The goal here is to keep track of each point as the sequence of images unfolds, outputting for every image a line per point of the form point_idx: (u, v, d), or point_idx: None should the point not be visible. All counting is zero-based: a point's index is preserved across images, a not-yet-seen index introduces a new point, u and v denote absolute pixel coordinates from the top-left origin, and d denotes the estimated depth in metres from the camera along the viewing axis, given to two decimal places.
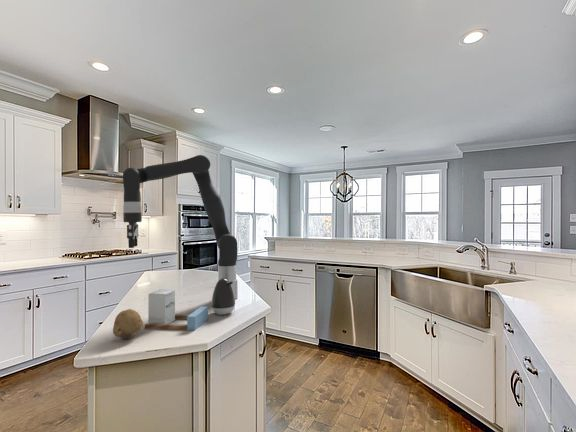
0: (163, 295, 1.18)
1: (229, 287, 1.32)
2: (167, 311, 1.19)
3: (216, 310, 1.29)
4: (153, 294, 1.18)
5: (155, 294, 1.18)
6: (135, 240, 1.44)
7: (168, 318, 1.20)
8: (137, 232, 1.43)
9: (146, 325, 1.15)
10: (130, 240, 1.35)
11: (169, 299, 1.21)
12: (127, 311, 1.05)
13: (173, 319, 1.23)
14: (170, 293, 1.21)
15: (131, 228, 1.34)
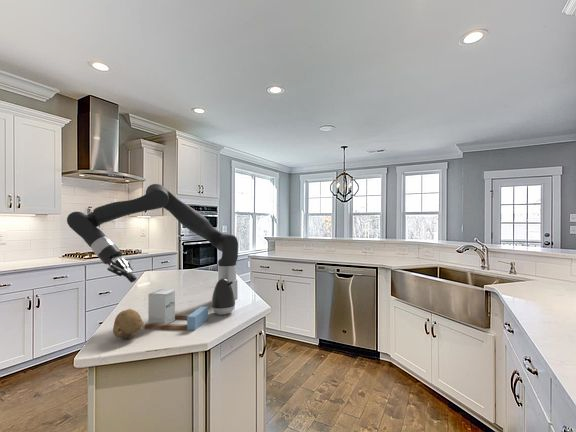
0: (163, 295, 1.18)
1: (229, 287, 1.32)
2: (167, 311, 1.19)
3: (216, 310, 1.29)
4: (153, 294, 1.18)
5: (155, 294, 1.18)
6: None
7: (168, 318, 1.20)
8: None
9: (146, 325, 1.15)
10: None
11: (169, 299, 1.21)
12: (127, 311, 1.05)
13: (173, 319, 1.23)
14: (170, 293, 1.21)
15: None
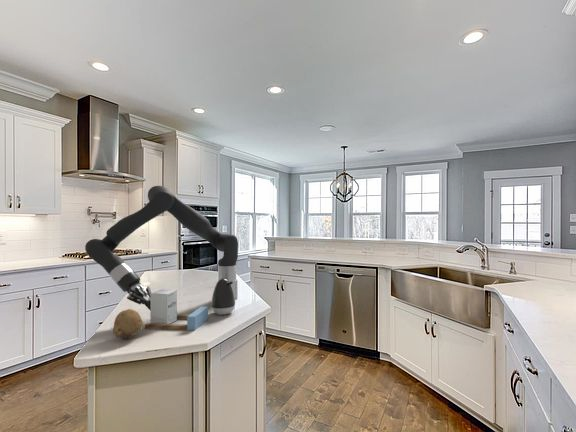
0: (165, 295, 1.18)
1: (229, 287, 1.32)
2: (169, 311, 1.19)
3: (216, 310, 1.29)
4: (155, 294, 1.18)
5: (157, 294, 1.18)
6: None
7: (170, 317, 1.20)
8: None
9: (146, 325, 1.15)
10: None
11: (171, 299, 1.20)
12: (127, 311, 1.05)
13: (175, 319, 1.23)
14: (172, 293, 1.21)
15: None
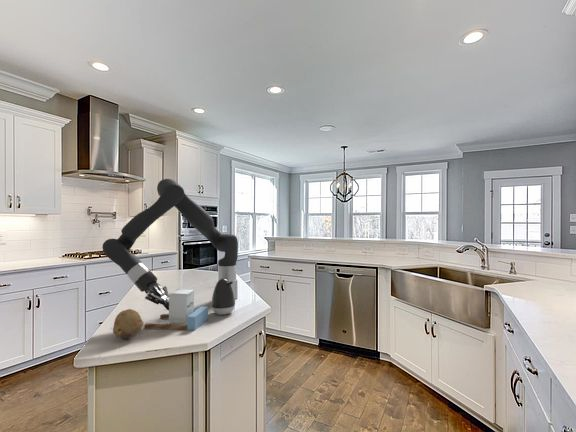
0: (185, 295, 1.17)
1: (229, 287, 1.32)
2: (188, 311, 1.19)
3: (216, 310, 1.29)
4: (174, 294, 1.18)
5: (176, 294, 1.18)
6: None
7: None
8: None
9: (146, 325, 1.15)
10: None
11: (190, 299, 1.20)
12: (127, 311, 1.05)
13: None
14: (190, 293, 1.21)
15: None
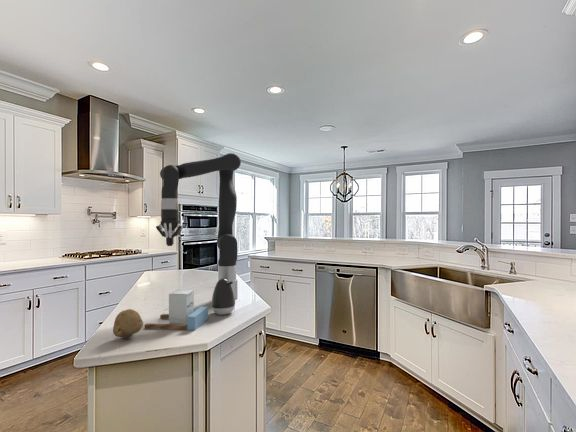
0: (184, 295, 1.17)
1: (229, 287, 1.32)
2: (188, 311, 1.19)
3: (216, 310, 1.29)
4: (174, 294, 1.18)
5: (176, 294, 1.18)
6: None
7: None
8: (169, 229, 1.40)
9: (146, 325, 1.15)
10: None
11: (190, 299, 1.20)
12: (127, 311, 1.05)
13: None
14: (190, 293, 1.21)
15: None
